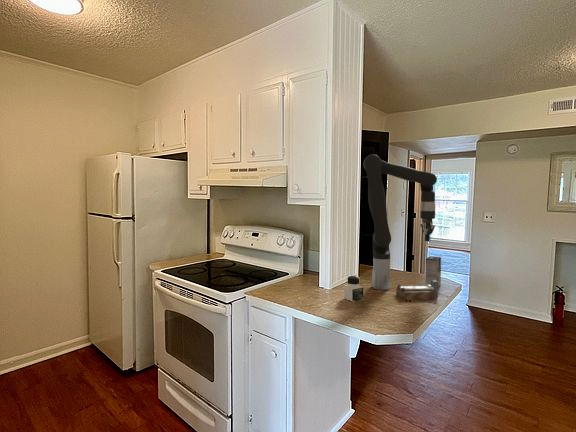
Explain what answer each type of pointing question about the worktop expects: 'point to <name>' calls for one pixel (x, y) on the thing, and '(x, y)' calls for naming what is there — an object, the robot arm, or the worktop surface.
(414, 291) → the walnut block
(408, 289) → the clamp strap
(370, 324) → the worktop surface
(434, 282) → the dark grey block
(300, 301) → the worktop surface
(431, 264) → the coffee box
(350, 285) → the medicine bottle
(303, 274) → the worktop surface
